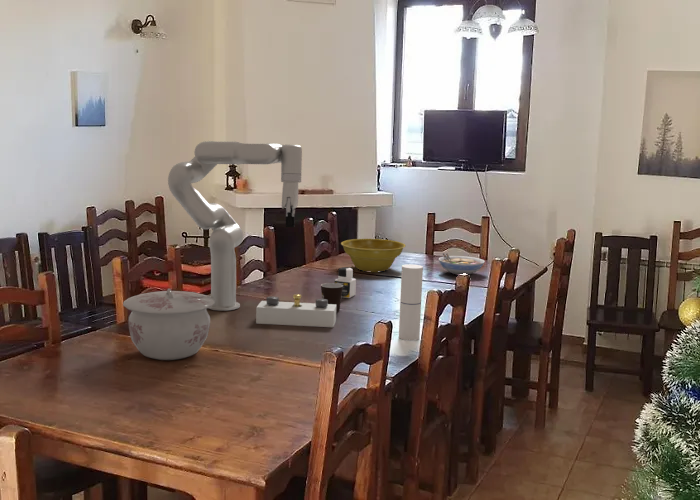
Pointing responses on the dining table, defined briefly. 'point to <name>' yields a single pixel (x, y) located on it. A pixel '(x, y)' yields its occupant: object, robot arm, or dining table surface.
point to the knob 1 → (272, 301)
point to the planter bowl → (372, 253)
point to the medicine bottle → (346, 282)
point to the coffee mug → (332, 293)
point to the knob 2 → (321, 303)
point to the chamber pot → (169, 323)
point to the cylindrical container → (410, 302)
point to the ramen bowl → (461, 264)
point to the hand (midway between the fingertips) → (290, 226)
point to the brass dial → (296, 300)
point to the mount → (296, 314)
